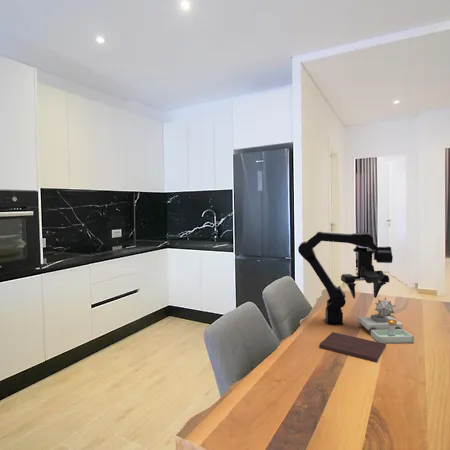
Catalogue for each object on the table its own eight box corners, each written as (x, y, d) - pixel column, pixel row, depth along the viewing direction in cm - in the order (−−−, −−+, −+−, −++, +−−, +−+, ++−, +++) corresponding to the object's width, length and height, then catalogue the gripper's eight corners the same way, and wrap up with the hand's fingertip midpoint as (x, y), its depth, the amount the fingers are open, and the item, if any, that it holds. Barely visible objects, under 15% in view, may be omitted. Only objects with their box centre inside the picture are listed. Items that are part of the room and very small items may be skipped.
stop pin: (389, 339, 124) (389, 322, 124) (385, 336, 128) (385, 319, 127) (398, 339, 124) (398, 322, 124) (393, 335, 128) (393, 319, 127)
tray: (379, 343, 122) (379, 337, 122) (370, 336, 129) (370, 329, 129) (413, 342, 123) (413, 336, 122) (403, 335, 130) (403, 329, 129)
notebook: (332, 335, 132) (332, 330, 132) (385, 347, 120) (385, 342, 120) (319, 349, 120) (319, 344, 120) (376, 364, 108) (376, 358, 108)
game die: (389, 324, 150) (402, 311, 144) (371, 318, 150) (384, 305, 144) (385, 310, 157) (397, 297, 152) (368, 304, 157) (380, 290, 152)
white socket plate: (368, 334, 131) (368, 321, 130) (358, 325, 140) (358, 313, 140) (402, 333, 131) (402, 320, 130) (390, 325, 140) (390, 312, 140)
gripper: (350, 266, 131) (350, 304, 132) (396, 265, 131) (396, 303, 132) (340, 261, 142) (340, 296, 143) (382, 260, 142) (382, 295, 143)
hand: (364, 297), depth 140 cm, fingers open, 9 cm apart
